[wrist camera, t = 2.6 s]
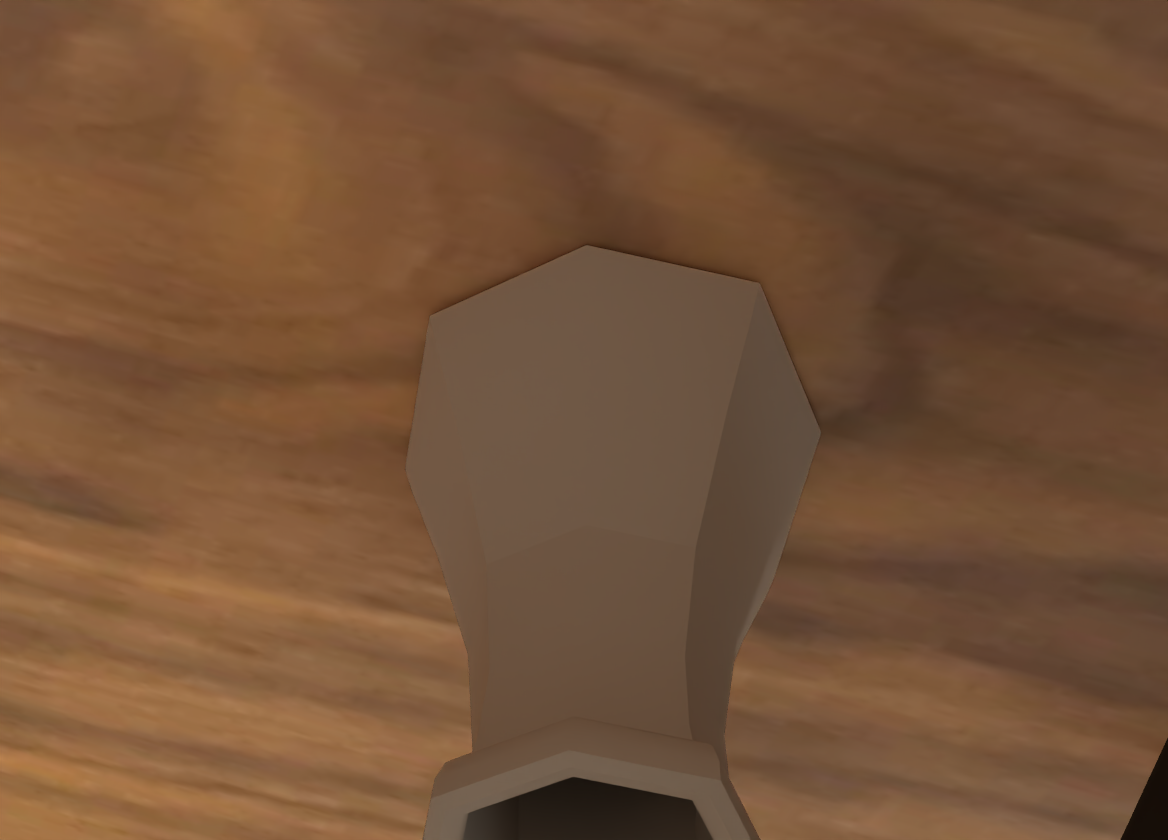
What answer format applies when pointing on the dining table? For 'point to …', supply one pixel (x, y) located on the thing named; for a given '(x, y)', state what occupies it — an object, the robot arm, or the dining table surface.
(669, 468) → the flask
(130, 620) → the dining table surface
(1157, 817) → the robot arm
